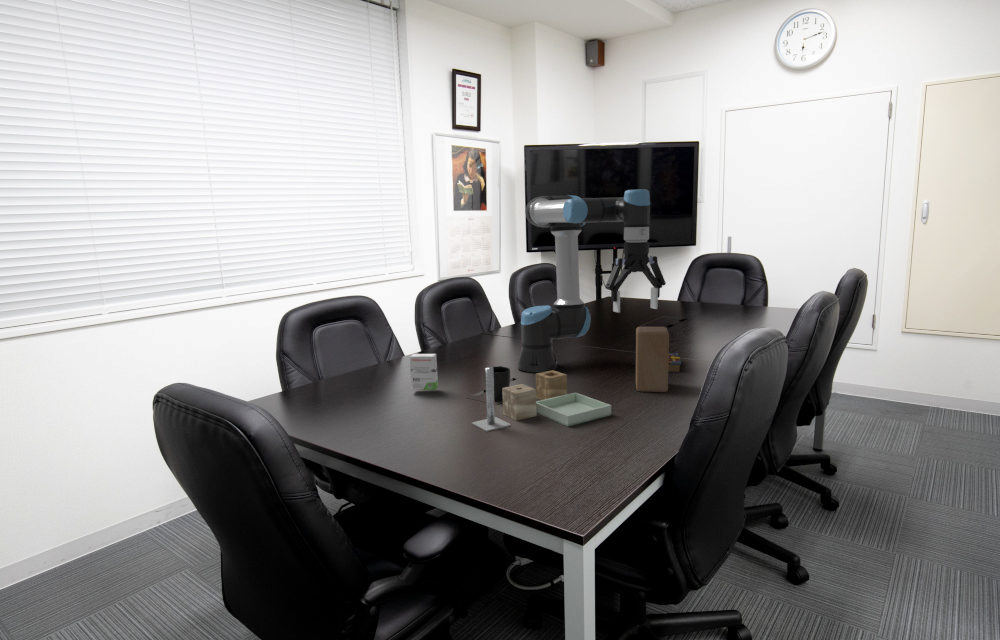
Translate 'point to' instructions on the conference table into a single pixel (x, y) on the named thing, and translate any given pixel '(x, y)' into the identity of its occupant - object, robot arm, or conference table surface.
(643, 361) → the block
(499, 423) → the mat
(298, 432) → the conference table surface
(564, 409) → the sage tray
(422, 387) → the ink box
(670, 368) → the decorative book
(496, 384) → the mug
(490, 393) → the steel pin
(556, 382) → the oak block
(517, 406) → the maple block
